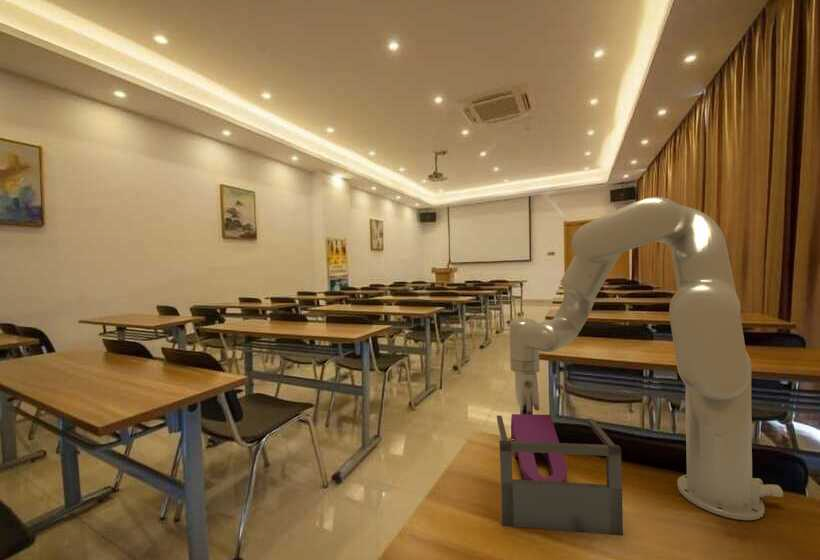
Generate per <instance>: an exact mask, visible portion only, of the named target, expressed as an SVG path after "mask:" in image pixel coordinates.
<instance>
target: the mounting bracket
mask: <svg viewBox="0 0 820 560" xmlns="http://www.w3.org/2000/svg"><path fill="white" fill-rule="evenodd" d="M510 417H511V421H510V441H524V442H549V443H560V440H559V437H558V433H557V432H556V428H555V425H554V421H553V419H552V415H551V414H534V413H533V414H520V413H519V414H518V413H512V414H511V416H510ZM511 439H514V440H511ZM534 453H535V452H514V454H513V456H515V457H514V458H518V461H519V466H520V467H519V469H520V472H521V474H522V476H523V478H524V480H536V481H553V482H566V480H567V474H568V465H567V463H566V459H565V457H564V454H556V453H543V454H542V456H543V458H544V459H546V460H547V463H548V466H549V471H550V474H551V475H550V476H548V477H546V476H543V475H542V474H541V473H540V472H539V470H538V466H537V464H536V463H537V461H536V457H535V454H534Z"/></svg>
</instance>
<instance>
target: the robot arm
mask: <svg viewBox="0 0 820 560" xmlns="http://www.w3.org/2000/svg"><path fill="white" fill-rule="evenodd" d="M651 243H664V244H666V245H667V246H668V247H669V249H670V251H671V255H672V264H673V270H674V275H675V282H676V283H675V284H676V292H675V294H673V296H672V298H671V299H670V300H671V301H670V302H669V309H668V310H669V322H670V328H671V334H672V335H671V336H672V342H673V348H674V355H675V362H676V363H675V364H676V369H677V372H678V374H679V377H680V379H681V380H682V382H683V383H684V385H685V442H686V443H685V444H686V445H685V446H686V447H685V448H686V449H685V451H686V455H685V456H686V474H682V475H681V476H680V477H678V478H677V482H676V483H677V484H676V486H677V489H678V491H679V493H680V494H681V495H682V496H683V497H684V498H685V499H687V500H688V501H689V502H690V503H692V504H694V505H695V506H697V507H699V508H701V509H702V510H705V511H707V512H709V513H712V514H715V515H718V516H721V517H724V518H728V519H733V520H741V521H754V520H755V521H756V520H759V519H761V518H762V517H763V516H764V515H765V511H766V510H765V504H764V503H763V501H762V500H761V499H760V498H764V497H765V496H768V497H778V498H783V497H784V491H783V489H782V488H781V486H780V485H778V484H767V483H766V484H764V482H763V480H762V479H761V478H760V477H759V478H758V477H757V478H756V477H753V452H752V447H753V445H752V443H753V442H752V441H753V440H752V427H753V426H752V420H753V419H752V361H751V358H750V355H749V353H748V352H747V348H746V344H745V343H746V342H745V336H744V330H743V324H742V316H741V301H740V298H739V296H738V294H737V291H736V285H735V281H734V275H733V269H732V264H731V260H730V255H729V251H728V245H727V243H726V239H725V236H724V233H723V231H722V229H721V228H720V227H719V225H718V224H717V222H715V220H713V218H711V216H709V215H708V214H706V213H705V212H702V211H700V210H698V209H696V208H693V207H689V206H686V205H682V204H679V203H677V202H675V201H673V200H671V199H669V198H666V197H661V196H651V197H646V198H642V199H640V200H637V201H634V202H632V203H630V204H627V205H626V206H624V207H621V208H619V209H616V210H614V211H612V212H609V213H608V214H604V215H602V216H600V217H598V218H595V219H593V220H590V221H589V222H586V223H584V225H582V226H581V227H578V229H577V230H576V231H575V233H574V235H573V236H572V239H571V249H572V251H573V253H574V254H575V255H574V256H573V258H572V260H571V262H570V263H569V265H568V266H567V269H566V271H565V273H564V275H563V276H562V278H561V281H560V283H561V286H562V289H563V297H562V301H561V304H560V306H559V308H558V310H557V311H556V312H555V315H554V316H553V318H552V319H549V320H546V321H541V322H537V321H536V320H534V319H532V318H514V319H512V320H511V321H510V323H509V326H508V327H509V352H510V353H509V355H510V356H509V357H510V358H509V360H510V370H511V371H512V372H513V373H514V382H515V383H514V384H515V385H514V386H515V389H514V390H515V397H516V402H517V404H518V406H519V414H533V415H534V413H533V410H535V411H537V412H538V411H540V398H539V384H538V376H537V374H538V373H539V372H540V371H541V370H540V352H543V353H544V352H545V353H553V352H556V351H558V350H560V349H562V348H564V347H566V346H569V345H570V344H571V343H572V342H574V340H575V339H576V338H577V337H578V335H579V333H580V332H581V330H582V329H583V326H585V324H586V322H587V320H588V318H589V317H590V314H591V312H592V309H593V306H594V305H595V301H596V298H597V295H598V293H599V292H600V290H601V289H602V287H603V285H604V283H605V282H606V280H607V278H608V276H609V275H610V273H612V272H611V271H612V270H613V268H614V266H615V264H616V263H617V261H618V260H619V258H620V256H621V255H622V254H623V253H624V252H627V251H628V252H629V251H630V250H632V249H633V250H634V249H636V248H639V247H642V246H644V245H648V244H651ZM763 514H764V515H763ZM760 517H761V518H760Z"/></svg>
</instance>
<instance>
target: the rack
mask: <svg viewBox="0 0 820 560" xmlns="http://www.w3.org/2000/svg"><path fill="white" fill-rule="evenodd" d="M586 420H587V421H586V424H587V425H588V426H589V427H590V428H591V429H592V431H593V432H594V434H596V436H597V438H599V439H600V441H601V443H602V444H597V443H596V444H593V443H592V444H591V443H570V442H567V443H566V442H559V443H549V442H524V441H511V440H508V436H507V431H506V428H505V423H504V419H503V416H502V415H496V422H497V426H498V432H499V436H500V440H499V442H498V444H499V446H498V447H499V470H500V471H499V474H500V479H499V480H500V504H501V505H500V506H501V509H500V510H501V525H502V526H504V527H516V528H527V529H540V530H552V531H553V530H554V531H564V532H565V531H566V532H578V533H579V532H581V533H590V534H592V533H593V534H603V535H618V536H624V528H623V527H624V524H623V523H624V521H623V517H624V515H623V514H624V513H623V479H622V478H623V477H622V476H623V475H622V474H623V472H622V447H621V446H620V445H619V444H618V445H617V444H615V443H614V441H613V440H612V439H611V438H610V437H609V436H608V435H607V433H605V431H604V430H603V429H602V428H601V426H599V424H598V423H597V422H596V420H594V418H592V417H590V418H589V417H587V419H586ZM513 452H533V453H537V454H539V453H540V454H542V453H556V454H563V455H582V456H602V457H603V456H605V458H606V461H605V462H606V484H599V483H586V482H585V483H584V482H566V481H565V482H553V481H536V480H526V479H517V478H516V479H515V478H514V479H513Z"/></svg>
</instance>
